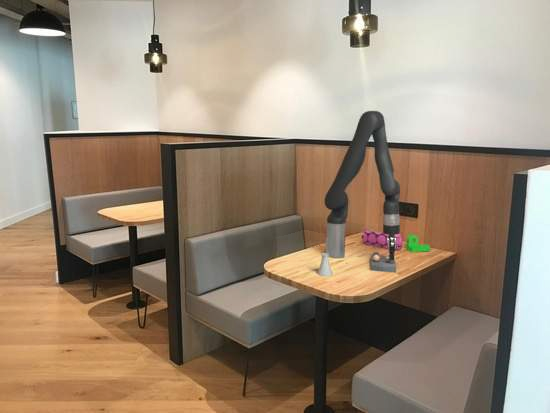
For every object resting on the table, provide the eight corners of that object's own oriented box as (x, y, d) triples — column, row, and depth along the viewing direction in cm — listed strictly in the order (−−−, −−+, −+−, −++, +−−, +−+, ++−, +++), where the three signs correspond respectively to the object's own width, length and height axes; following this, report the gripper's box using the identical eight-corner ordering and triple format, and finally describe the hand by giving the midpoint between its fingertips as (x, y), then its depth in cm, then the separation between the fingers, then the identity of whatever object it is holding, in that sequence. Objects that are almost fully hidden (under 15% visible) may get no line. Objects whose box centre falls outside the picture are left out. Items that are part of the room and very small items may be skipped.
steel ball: (387, 253, 204) (382, 255, 207) (389, 260, 203) (384, 262, 206) (392, 254, 206) (387, 256, 209) (393, 260, 205) (388, 262, 208)
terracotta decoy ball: (372, 262, 205) (373, 255, 205) (372, 260, 208) (373, 253, 208) (379, 262, 205) (380, 255, 204) (379, 260, 208) (379, 254, 207)
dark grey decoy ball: (372, 259, 210) (372, 252, 209) (372, 257, 213) (372, 251, 212) (379, 259, 209) (379, 253, 209) (379, 257, 212) (379, 251, 212)
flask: (322, 272, 199) (322, 250, 197) (336, 275, 195) (336, 253, 193) (313, 276, 194) (313, 254, 192) (327, 279, 189) (327, 257, 187)
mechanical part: (412, 252, 232) (412, 237, 231) (406, 249, 238) (407, 234, 237) (432, 250, 235) (433, 236, 233) (426, 247, 241) (427, 233, 239)
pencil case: (360, 246, 243) (361, 229, 241) (367, 242, 250) (367, 225, 249) (398, 252, 231) (399, 234, 229) (404, 248, 239) (405, 230, 237)
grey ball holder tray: (371, 270, 200) (371, 262, 200) (370, 259, 218) (371, 251, 217) (396, 272, 198) (396, 264, 197) (393, 260, 216) (393, 253, 215)
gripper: (382, 220, 208) (383, 256, 211) (383, 226, 195) (384, 263, 198) (398, 220, 207) (399, 256, 209) (400, 225, 194) (401, 263, 196)
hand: (391, 259), depth 203 cm, fingers closed
